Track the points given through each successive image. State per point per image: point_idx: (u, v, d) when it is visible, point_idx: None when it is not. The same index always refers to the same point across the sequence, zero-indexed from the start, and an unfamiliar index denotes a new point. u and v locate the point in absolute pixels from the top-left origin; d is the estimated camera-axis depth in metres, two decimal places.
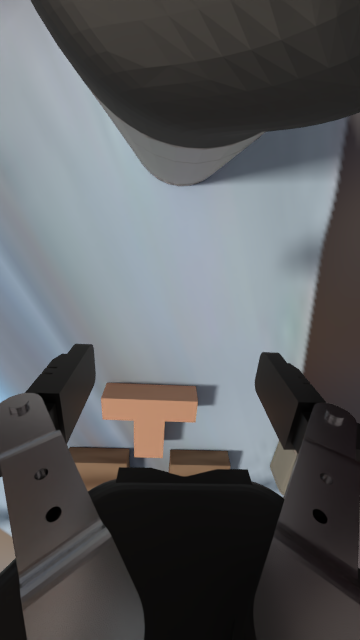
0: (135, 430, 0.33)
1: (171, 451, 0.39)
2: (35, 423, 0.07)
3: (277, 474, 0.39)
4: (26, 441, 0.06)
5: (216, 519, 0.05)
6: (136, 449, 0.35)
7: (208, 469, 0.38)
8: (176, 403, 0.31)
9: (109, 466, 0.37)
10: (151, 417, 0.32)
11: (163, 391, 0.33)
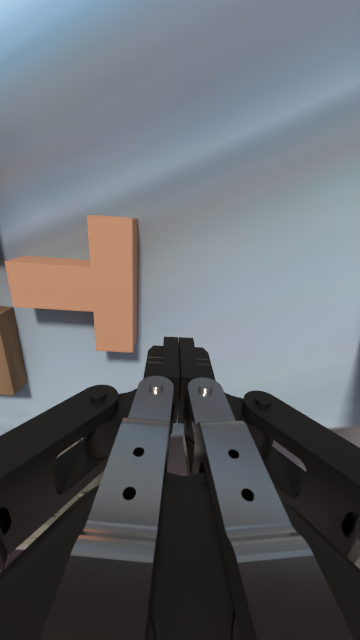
0: (69, 267, 0.21)
1: (11, 309, 0.25)
2: (159, 406, 0.08)
3: None
4: (147, 417, 0.07)
5: (216, 519, 0.05)
6: (24, 267, 0.21)
7: None
8: (128, 327, 0.23)
9: None
10: (99, 293, 0.22)
11: (135, 303, 0.24)
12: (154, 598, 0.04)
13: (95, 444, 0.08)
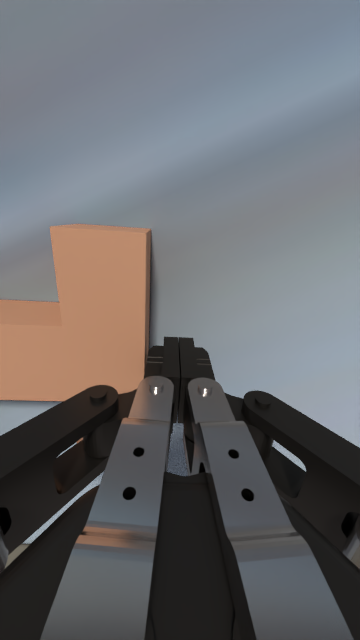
0: (19, 328, 0.11)
1: None
2: (159, 406, 0.08)
3: None
4: (147, 417, 0.07)
5: (216, 519, 0.05)
6: None
7: None
8: None
9: None
10: (81, 372, 0.12)
11: None
12: (154, 598, 0.04)
13: (95, 444, 0.08)
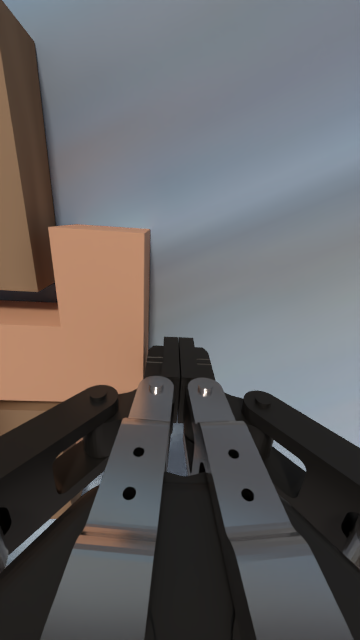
0: (18, 329, 0.11)
1: None
2: (159, 406, 0.08)
3: None
4: (147, 417, 0.07)
5: (216, 519, 0.05)
6: None
7: None
8: None
9: (8, 229, 0.10)
10: (80, 372, 0.12)
11: None
12: (154, 598, 0.04)
13: (95, 444, 0.08)
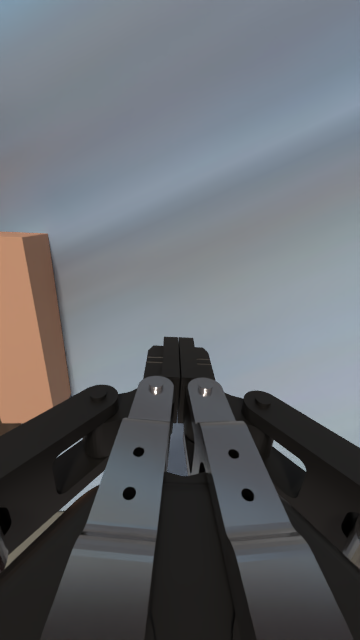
0: None
1: None
2: (159, 406, 0.08)
3: None
4: (147, 417, 0.07)
5: (216, 519, 0.05)
6: None
7: None
8: (43, 390, 0.16)
9: None
10: None
11: (56, 353, 0.17)
12: (154, 598, 0.04)
13: (95, 444, 0.08)
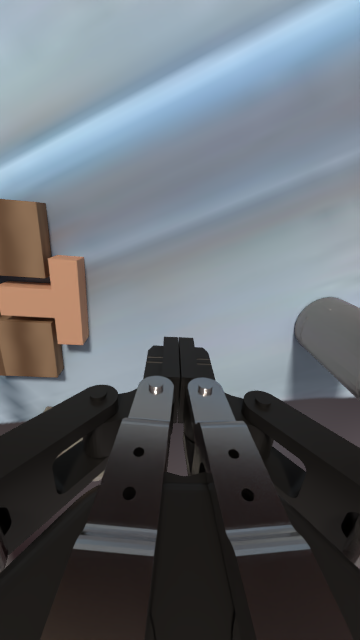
0: (37, 290, 0.33)
1: None
2: (159, 406, 0.08)
3: None
4: (147, 417, 0.07)
5: (216, 519, 0.05)
6: (8, 289, 0.32)
7: (49, 359, 0.37)
8: (78, 328, 0.35)
9: (37, 258, 0.32)
10: (58, 306, 0.34)
11: (84, 312, 0.36)
12: (154, 598, 0.04)
13: (95, 444, 0.08)
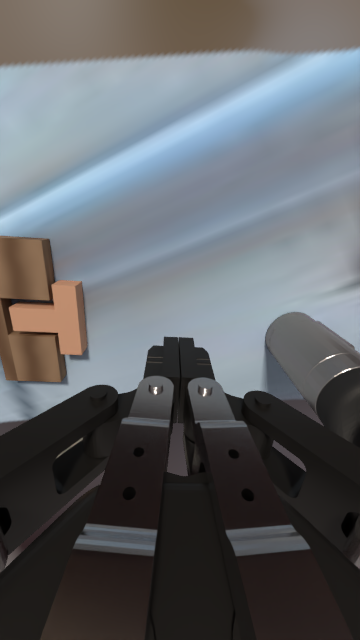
0: (43, 310, 0.39)
1: None
2: (159, 406, 0.08)
3: None
4: (147, 417, 0.07)
5: (216, 519, 0.05)
6: (19, 310, 0.39)
7: (53, 366, 0.44)
8: (77, 340, 0.41)
9: (42, 285, 0.38)
10: (60, 323, 0.40)
11: (83, 327, 0.42)
12: (154, 598, 0.04)
13: (95, 444, 0.08)
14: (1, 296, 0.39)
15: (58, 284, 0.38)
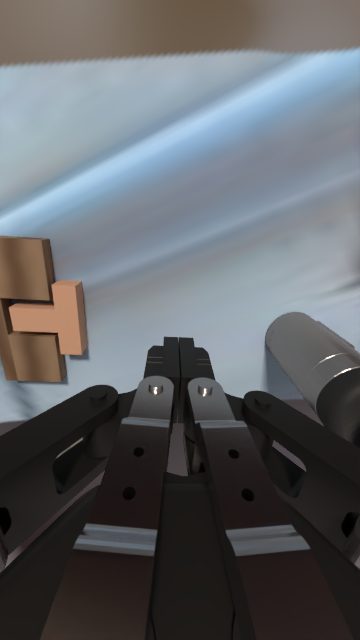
0: (43, 310, 0.39)
1: None
2: (159, 406, 0.08)
3: None
4: (147, 417, 0.07)
5: (216, 519, 0.05)
6: (19, 310, 0.39)
7: (53, 366, 0.44)
8: (77, 340, 0.41)
9: (42, 285, 0.38)
10: (60, 323, 0.40)
11: (83, 327, 0.42)
12: (154, 598, 0.04)
13: (95, 444, 0.08)
14: (1, 296, 0.39)
15: (58, 284, 0.38)
